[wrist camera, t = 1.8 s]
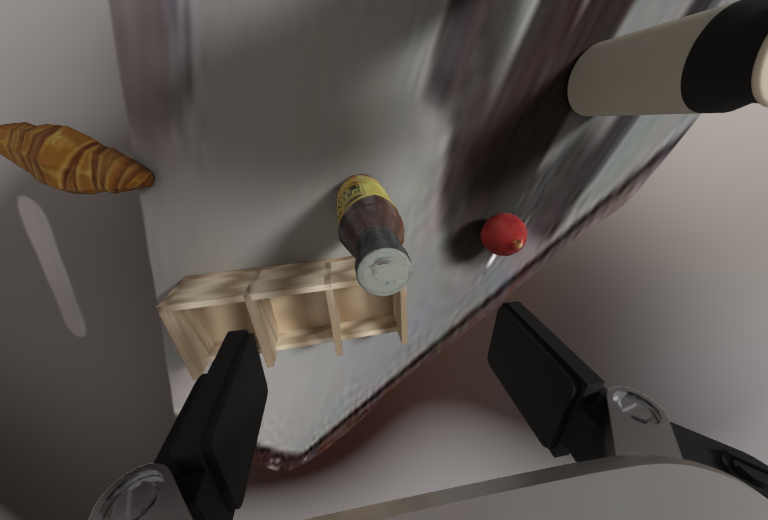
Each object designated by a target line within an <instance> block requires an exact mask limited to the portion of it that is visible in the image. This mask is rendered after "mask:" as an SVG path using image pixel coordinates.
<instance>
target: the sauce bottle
mask: <svg viewBox="0 0 768 520" xmlns="http://www.w3.org/2000/svg"><path fill="white" fill-rule="evenodd" d="M337 219H338V235H339V239H340V241H341V243H342V244H343V245H344V247H345V248H346V249H347V250H348V251H349V252H350V253H351V254H352V256H353V257H354V258H355V259H356V260H355V272H356V277H357V280H358V283H359V285H360V286H361V287H362V288H363V289H364V290H365V291H366V292H368V293H370V294H372V295H375V296H389V295H392V294H395V293H397V292H399V291H400V290H402V289H403V288H404V287H405V286H406V285H407V284H408V282H409V280H410V277H411V275H412V263H411V260H410V258H409V256H408V253H407V252H406V250H405V249H404V247H403V246H402V244H403V242H404V225H403V222H402V219H401V217H400V215H399V213H398V211H397V209H396V207H395V206H394V204H393V203H392V201H391V200H390V198H389V196H388V195H387V193H386V192H385V190H384V188H383V187H382V186H381V184H380V183H379V182H378V181H377V180H375V179H374V178H372V177H370V176H368V175H364V174H359V175H355V176H351V177H349V178H348V179H347V180H346V181H345V182H344V183H343V184H342V185H341V187H340V189H339V191H338V194H337Z"/></svg>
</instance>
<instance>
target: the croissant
mask: <svg viewBox="0 0 768 520" xmlns="http://www.w3.org/2000/svg"><path fill="white" fill-rule="evenodd" d="M0 154H1V155H3V156H4V157H6V158H7V159H9V160H10V161H12V162H13V163H15V164H16V165H18V166H20V167H21V168H23V169H25V170H26V171H28V172H30V173H31V174H32V175H33V176H34V178H35V179H36V180H37V181H39V182H41V183H44V184H46V185H49V186H51V187H54V188H56V189H59V190H63V191H66V192H69V193H78V194H96V193H99V192H104V191H105V192H110V193H120V192H125V191H131V190H135V189H141V188H145V187H150V186H152V185H153V183H154V180H155V177H154V173H153V172H152V171H150V170H149V169H147V168H146V167H144V166H143V165H141V164H140V163H138V162H136V161H135V160H133V159H131V158H129V157H127V156H126V155H124V154H122V153H120V152H119V151H117V150H116V149H113V148H109V147H105V146H103V145H102V144H100V143H99V142H97V141H96V140H94V139H92V138H91V137H89V136H87V135H85V134H82V133H80V132H78V131H76V130H74V129H72V128H70V127H68V126H59V125H49V124H45V125H39V126H35V125H32V124H29V123H26V122H22V123H12V124H4V125H0Z"/></svg>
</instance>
